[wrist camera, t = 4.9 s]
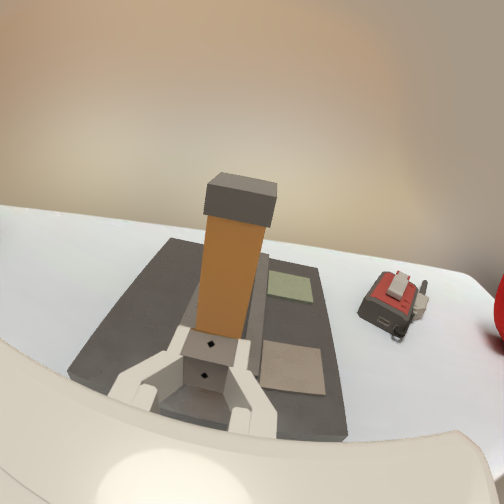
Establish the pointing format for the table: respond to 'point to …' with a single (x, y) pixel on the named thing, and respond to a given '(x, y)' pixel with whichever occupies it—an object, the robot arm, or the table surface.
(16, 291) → the table surface
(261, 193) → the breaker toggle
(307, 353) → the grey metal board
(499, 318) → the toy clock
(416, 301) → the walkie-talkie
